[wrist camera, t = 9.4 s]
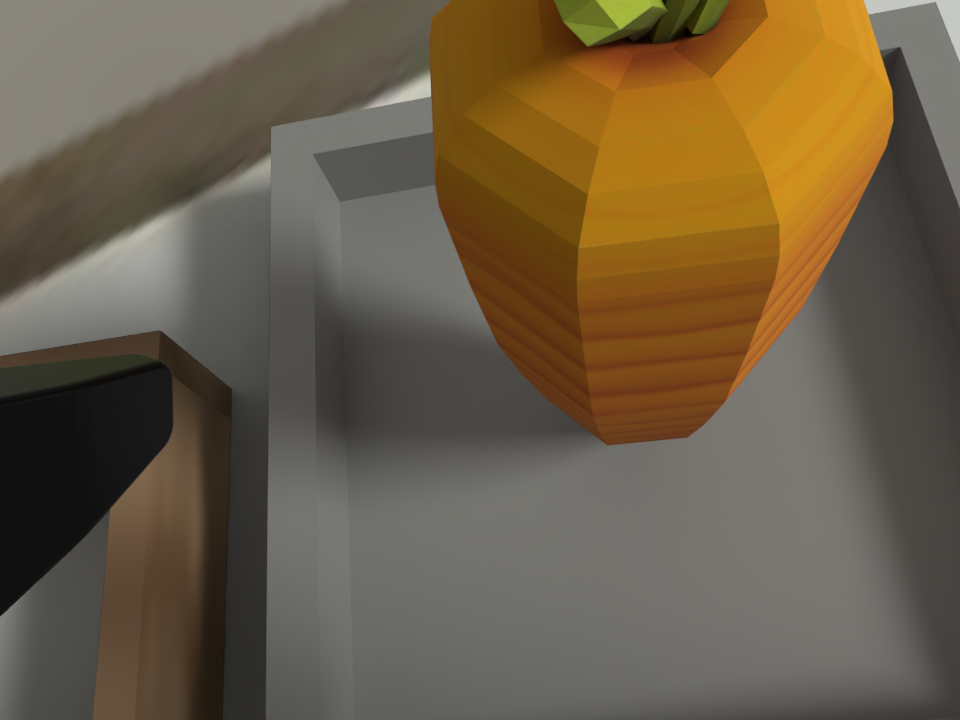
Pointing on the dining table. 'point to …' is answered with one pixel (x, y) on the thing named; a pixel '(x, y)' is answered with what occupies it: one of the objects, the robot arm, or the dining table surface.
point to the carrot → (650, 186)
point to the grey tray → (610, 465)
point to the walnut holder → (165, 550)
